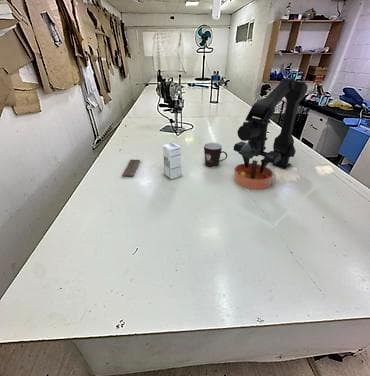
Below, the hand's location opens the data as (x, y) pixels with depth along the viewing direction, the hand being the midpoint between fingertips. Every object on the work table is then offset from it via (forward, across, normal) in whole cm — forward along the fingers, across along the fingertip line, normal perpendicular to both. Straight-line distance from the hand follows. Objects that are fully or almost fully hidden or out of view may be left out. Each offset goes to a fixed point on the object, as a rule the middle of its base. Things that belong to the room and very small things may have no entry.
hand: (253, 170), depth 99 cm
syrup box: (+6, -27, -22) cm, 35 cm away
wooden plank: (+5, -45, -32) cm, 55 cm away
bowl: (+5, 0, 0) cm, 5 cm away
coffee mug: (+6, -21, -1) cm, 22 cm away
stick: (+5, 0, 0) cm, 5 cm away
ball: (+3, -4, -2) cm, 5 cm away
